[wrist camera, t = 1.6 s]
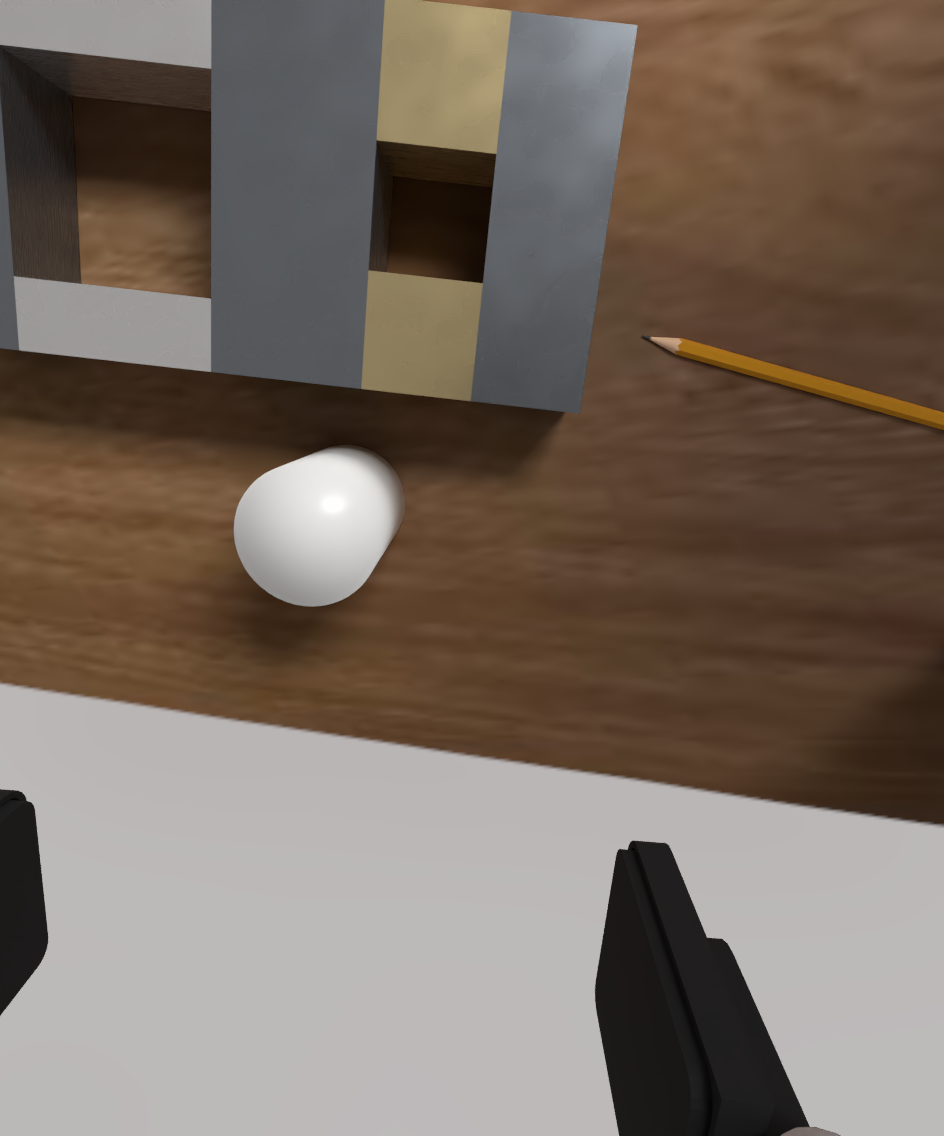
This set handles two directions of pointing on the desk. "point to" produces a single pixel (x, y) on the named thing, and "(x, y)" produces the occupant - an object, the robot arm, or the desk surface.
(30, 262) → the socket block
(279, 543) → the white capsule cylinder
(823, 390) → the pencil
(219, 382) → the desk surface
